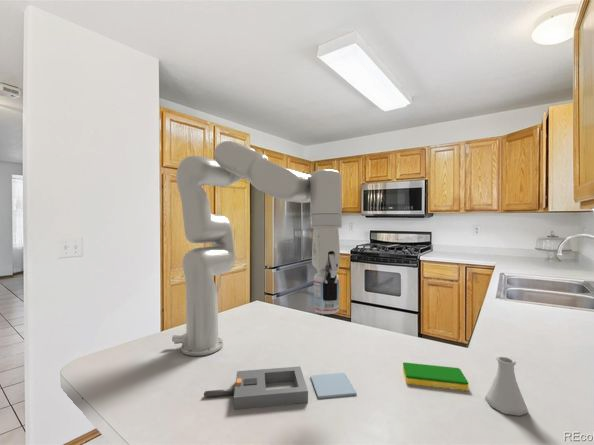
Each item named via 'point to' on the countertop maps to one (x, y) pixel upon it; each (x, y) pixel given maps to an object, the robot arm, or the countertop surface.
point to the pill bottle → (319, 303)
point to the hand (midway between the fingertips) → (326, 295)
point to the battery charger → (254, 391)
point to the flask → (506, 390)
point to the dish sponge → (434, 376)
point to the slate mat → (332, 385)
